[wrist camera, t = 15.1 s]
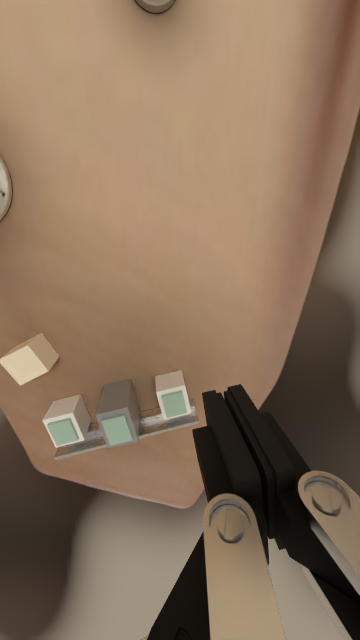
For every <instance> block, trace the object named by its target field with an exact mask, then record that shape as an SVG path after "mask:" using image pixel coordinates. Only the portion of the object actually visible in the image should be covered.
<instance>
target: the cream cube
mask: <svg viewBox="0 0 360 640" xmlns="http://www.w3.org/2000/svg"><path fill="white" fill-rule="evenodd" d="M59 357H60V356H59V355H58V354H57V352H56V351H55V350H54V349H53V347H52V346H51V345H50V343H49V342H48V341H47V339H46V338H45V337H44V336H43V334H42V333H40V334H38V335H36V336H34V337H32V338H30V339H28V340H26V341H24V342H22V343H21V344H19V345H17V346H15V347H14V348H12V349H11V350H10V351H9V352H7V353H6V354H5V355H4V356H3V357H1V358H0V363H1V364H2V366H3V367H4V368H5V369H6V370H7V371H8V372H9V373H10V375H11V376H12V377H13V378H14V379H15V380H16V381H17V382H18V384H19V385H22V384H24V383H26V382H28V381H30V380H32V379H34V378H36V377H38V376H40V375H42V374H44V373H46V372H48V371H49V370H50V369H51V367H52V366H53V365H54V363H55V362H56V361H57V359H58V358H59Z"/></svg>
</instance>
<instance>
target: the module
mask: <svg viewBox="0 0 360 640" xmlns="http://www.w3.org/2000/svg"><path fill="white" fill-rule="evenodd" d="M95 415H96V418H97V421H98V423H99V426H100V429H101V431H102V434H103V437H104V439H105V442H106V444H107V447H108V449H110V448H114V447H118V446H122V445H126V444H130V443H134V442H138V440H139V417H140V408H139V405H138V401H137V398H136V395H135V391H134V388H133V385H132V381H131V379H129V380H125V381H120V382H116V383H112V384H107V385H104V387H103V391H102V394H101V397H100V401H99V404H98V407H97V411H96V414H95Z"/></svg>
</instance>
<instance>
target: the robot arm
mask: <svg viewBox="0 0 360 640" xmlns="http://www.w3.org/2000/svg"><path fill="white" fill-rule="evenodd" d="M4 193H5V197H4ZM11 198H12V185H11V179H10V175H9V172H8V169H7V167H6V165H5V163H4V161H3V159H2V158H1V156H0V220H1V219H2V218H3V217H4V216H5V214H6V212H7V211H8V209H9V206H10V203H11ZM202 396H203V403H204V409H205V415H206V422H207V426H205V427H201V428H197V429H193V430H192V432H193V437H194V443H195V448H196V453H197V457H198V462H199V466H200V471H201V475H202V479H203V483H204V488H205V492H206V496H207V500H208V505H207V506H206V508H205V511H204V515H203V533H202V535H201V537H200V539H199V541H198V542H197V544H196V546H195V548H194V550H193V552H192V554H191V555H190V557H189V559H188V561H187V563H186V565H185V567H184V568H183V570H182V572H181V574H180V576H179V578H178V580H177V582H176V583H175V585H174V587H173V589H172V591H171V593H170V595H169V596H168V598H167V600H166V602H165V604H164V606H163V608H162V610H161V611H160V613H159V615H158V617H157V619H156V621H155V623H154V625H153V626H152V628H151V631H150V633H149V635H147V636H146V637H144V638H143V639H141V640H286V637H285V632H284V629H283V624H282V621H281V616H280V612H279V608H278V604H277V601H276V597H275V592H274V588H273V585H272V581H271V577H270V573H269V569H268V565H269V553H268V538H269V539H273V538H274V539H275V541H276V543H277V545H278V548H279V550H281V549H285V548H286V550H287V552H288V555H289V556H290V557H291V558H292V559H294V560H295V561H297V562H299V564H300V566H301V568H302V570H303V573H304V574H305V576H306V577H307V579H308V581H309V583H310V584H311V586H312V588H313V589H314V591H315V593H316V594H317V596H318V598H319V599H320V601H321V603H322V604H323V606H324V608H325V609H326V611H327V613H328V614H329V616H330V618H331V619H332V621H333V623H334V624H335V626H336V628H337V629H338V631H339V633H340V634H341V636H342V638H343V639H344V640H360V497H359V496H357V494H356V493H355V492H354V491H353V490H352V489H351V488H350V487H349V486H348V485H347V484H345V483H344V482H343V481H342V480H340V479H339V478H338V477H336V476H334V475H332V474H330V473H326V472H323V471H311V470H310V468H309V467H308V466H307V464H306V463H305V461H304V460H303V458H302V457H301V456H300V455H299V453H298V451H297V450H296V449H295V447H294V446H293V445H292V443H291V442H290V440H289V439H288V437H287V436H286V435H285V433H284V432H283V430H282V429H281V427H280V426H279V425H278V423H277V422H276V421H275V419H274V418H273V416H272V415H271V414H270V413H269V412H265V413H261V414H260V413H259V411H258V410H257V408H256V407H255V405H254V403H253V402H252V400H251V399H250V397H249V396H248V394H247V393H246V391H245V390H244V388H243V387H242V385H241V384H239V385H235V386H231V387H228V391H224V398H223V396H222V394H221V393H216V391H215V390H213V391H208V392H204V393H202ZM224 399H225V400H224Z"/></svg>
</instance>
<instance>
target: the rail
mask: <svg viewBox="0 0 360 640" xmlns="http://www.w3.org/2000/svg"><path fill="white" fill-rule="evenodd" d="M188 401H189V405H190V410H191V414H187V415H183V416H179V417H175V418H171V419H167V420H164V419H163V416H162V412H161V408H160V407H159V408H155V409H150V410H146V411H142V412H140V417H139V439H140V438H144V437H148V436H152V435H156V434H159V433H163V432H167V431H171V430H175V429H179V428H183V427H187V426H191V425H195V424H199V420H198V416H197V413H196V409H195V405H194V401H193V399H191V400H188ZM105 447H107V444H106V442H105V439H104V437H103V434H102V431H101V429H100V426H99V423H94V424H90V425H89V428H88V431H87V434H86V438H85V440H84V441H80V442H76V443H72V444H68V445H64V446H60V447H58V450H57V452H56V454H55V457H54V458H55V460H58V459H62V458H65V457H69V456H73V455H77V454H81V453H85V452H89V451H93V450H97V449H101V448H105Z"/></svg>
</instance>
